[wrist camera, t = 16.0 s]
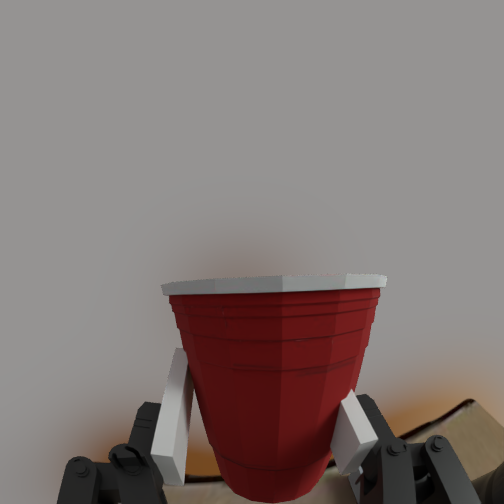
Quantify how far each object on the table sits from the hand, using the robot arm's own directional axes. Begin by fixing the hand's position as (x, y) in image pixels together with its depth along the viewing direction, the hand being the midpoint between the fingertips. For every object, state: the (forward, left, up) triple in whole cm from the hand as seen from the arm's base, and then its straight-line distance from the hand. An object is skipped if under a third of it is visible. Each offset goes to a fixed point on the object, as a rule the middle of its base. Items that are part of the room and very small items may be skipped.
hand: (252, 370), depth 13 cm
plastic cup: (-1, +3, -6) cm, 7 cm away
